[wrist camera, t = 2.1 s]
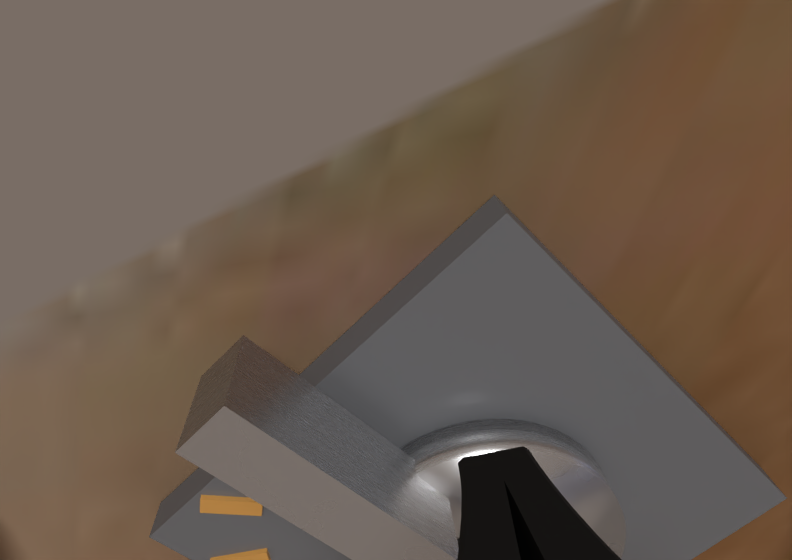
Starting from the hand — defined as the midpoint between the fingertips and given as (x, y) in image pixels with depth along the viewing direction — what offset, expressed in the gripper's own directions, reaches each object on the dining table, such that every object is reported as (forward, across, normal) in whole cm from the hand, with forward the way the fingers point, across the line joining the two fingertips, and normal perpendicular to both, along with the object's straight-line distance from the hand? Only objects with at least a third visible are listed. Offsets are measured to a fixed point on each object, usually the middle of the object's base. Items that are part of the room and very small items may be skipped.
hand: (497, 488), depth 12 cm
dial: (+6, +2, +5) cm, 8 cm away
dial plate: (+8, 0, +8) cm, 11 cm away
